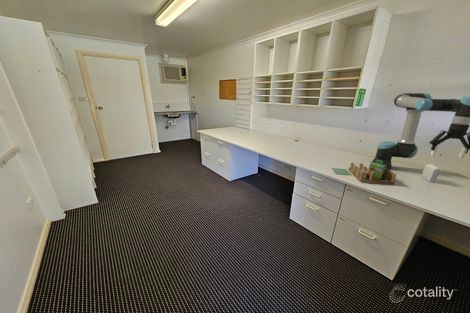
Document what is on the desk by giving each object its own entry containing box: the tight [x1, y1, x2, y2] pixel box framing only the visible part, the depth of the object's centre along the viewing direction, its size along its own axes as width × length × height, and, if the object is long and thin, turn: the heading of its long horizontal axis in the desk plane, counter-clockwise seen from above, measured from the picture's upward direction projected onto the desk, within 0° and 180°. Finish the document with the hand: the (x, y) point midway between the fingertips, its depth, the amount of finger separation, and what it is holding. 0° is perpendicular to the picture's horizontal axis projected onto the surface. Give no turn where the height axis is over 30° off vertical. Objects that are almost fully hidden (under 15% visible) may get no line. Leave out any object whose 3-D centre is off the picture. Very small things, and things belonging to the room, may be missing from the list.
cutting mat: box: [331, 167, 352, 176], centre depth 158 cm, size 12×12×1 cm
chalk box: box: [368, 160, 386, 180], centre depth 145 cm, size 9×9×15 cm
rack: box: [348, 162, 397, 186], centre depth 147 cm, size 22×23×8 cm
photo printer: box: [421, 163, 441, 183], centre depth 143 cm, size 10×4×12 cm, turn 167°
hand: (446, 156), depth 118 cm, fingers open, 13 cm apart
